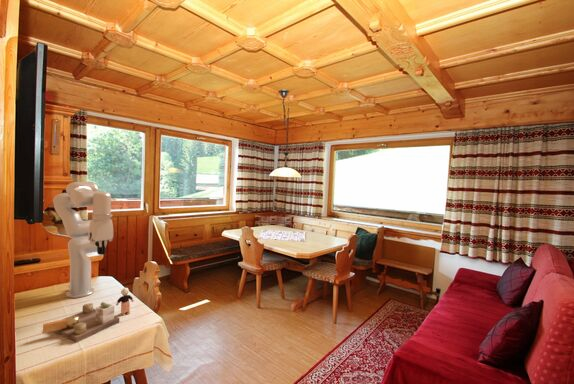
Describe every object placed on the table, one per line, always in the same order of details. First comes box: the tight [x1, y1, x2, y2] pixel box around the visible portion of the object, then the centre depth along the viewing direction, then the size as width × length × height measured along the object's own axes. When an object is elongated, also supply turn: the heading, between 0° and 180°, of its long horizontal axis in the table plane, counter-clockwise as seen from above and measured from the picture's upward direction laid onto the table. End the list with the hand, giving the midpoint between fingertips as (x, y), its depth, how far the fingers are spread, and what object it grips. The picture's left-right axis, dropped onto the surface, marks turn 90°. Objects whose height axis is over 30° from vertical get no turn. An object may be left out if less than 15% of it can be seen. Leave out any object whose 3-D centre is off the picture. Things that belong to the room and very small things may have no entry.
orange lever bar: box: [42, 314, 79, 334], centre depth 119 cm, size 12×4×4 cm, turn 129°
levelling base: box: [52, 301, 120, 343], centre depth 126 cm, size 20×18×10 cm
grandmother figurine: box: [115, 287, 135, 316], centre depth 137 cm, size 8×4×13 cm, turn 148°
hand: (101, 254), depth 142 cm, fingers closed
